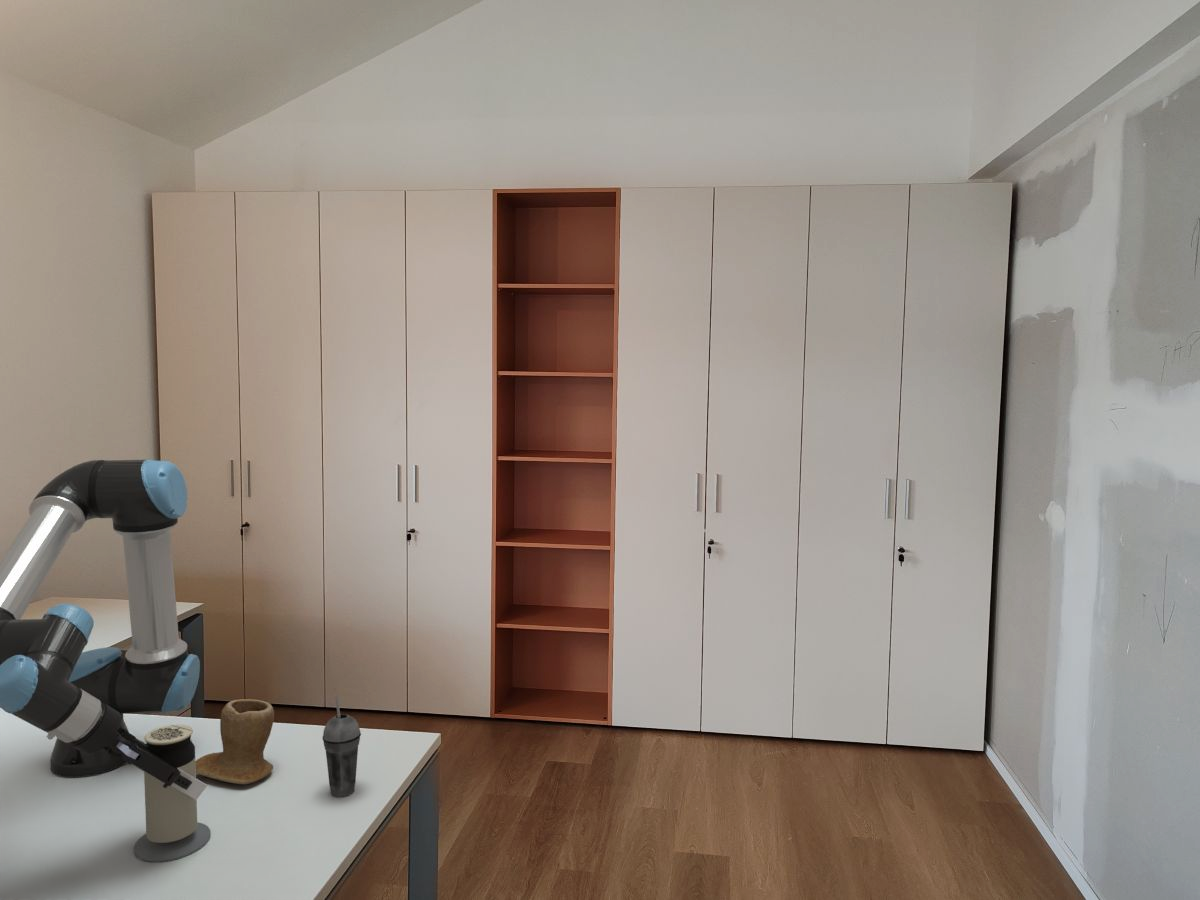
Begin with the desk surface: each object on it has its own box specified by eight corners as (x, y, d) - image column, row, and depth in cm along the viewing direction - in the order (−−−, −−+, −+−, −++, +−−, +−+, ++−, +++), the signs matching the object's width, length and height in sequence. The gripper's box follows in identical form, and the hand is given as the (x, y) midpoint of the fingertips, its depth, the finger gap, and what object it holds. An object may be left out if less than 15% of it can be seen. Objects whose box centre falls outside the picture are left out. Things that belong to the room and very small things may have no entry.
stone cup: (288, 768, 175) (286, 698, 173) (244, 794, 164) (242, 720, 162) (233, 754, 180) (231, 687, 179) (187, 779, 169) (185, 707, 168)
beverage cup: (369, 787, 167) (368, 690, 165) (344, 804, 160) (342, 703, 159) (341, 779, 170) (339, 684, 168) (315, 795, 163) (313, 697, 162)
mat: (123, 842, 146) (123, 840, 146) (194, 816, 155) (194, 814, 155) (148, 871, 138) (148, 868, 138) (222, 842, 147) (221, 839, 147)
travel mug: (163, 849, 141) (159, 747, 139) (137, 835, 145) (133, 735, 144) (206, 828, 148) (204, 730, 146) (180, 815, 152) (177, 719, 150)
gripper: (48, 724, 140) (154, 782, 154) (87, 765, 126) (199, 825, 140) (82, 685, 144) (183, 746, 157) (124, 720, 130) (231, 784, 143)
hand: (191, 783), depth 148 cm, fingers closed on travel mug, 8 cm apart
